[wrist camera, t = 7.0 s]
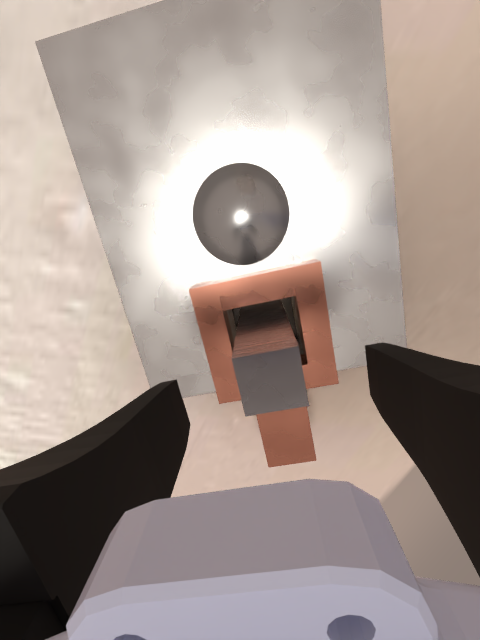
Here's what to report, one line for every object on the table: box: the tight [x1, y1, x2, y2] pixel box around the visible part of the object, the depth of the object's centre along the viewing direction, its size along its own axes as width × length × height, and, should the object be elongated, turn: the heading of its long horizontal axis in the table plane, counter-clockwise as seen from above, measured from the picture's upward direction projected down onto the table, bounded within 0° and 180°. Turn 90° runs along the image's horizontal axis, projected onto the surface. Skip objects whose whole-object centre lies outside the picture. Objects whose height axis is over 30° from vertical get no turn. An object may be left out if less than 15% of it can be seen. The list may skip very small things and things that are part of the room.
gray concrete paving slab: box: [35, 0, 407, 467], centre depth 17 cm, size 16×25×4 cm, turn 12°
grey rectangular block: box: [231, 299, 309, 416], centre depth 16 cm, size 3×3×9 cm
